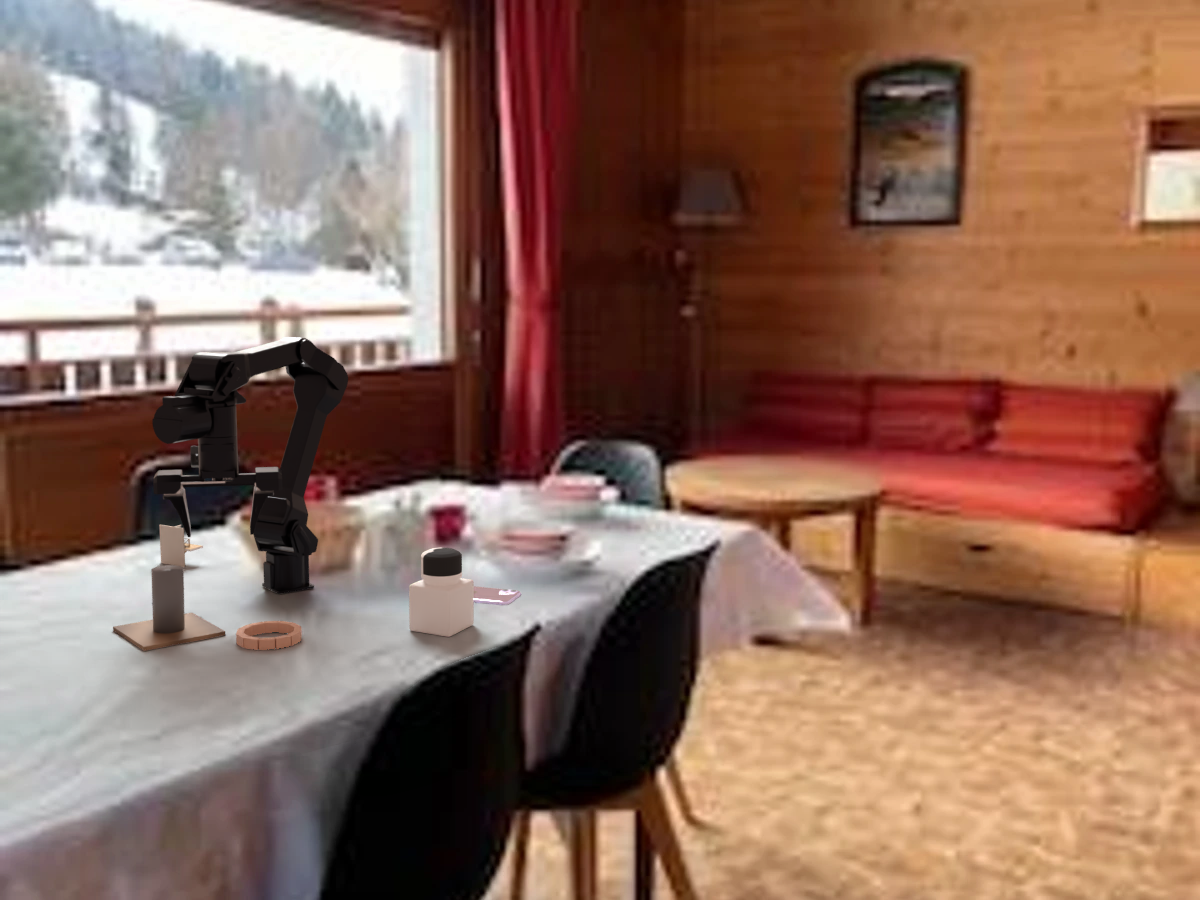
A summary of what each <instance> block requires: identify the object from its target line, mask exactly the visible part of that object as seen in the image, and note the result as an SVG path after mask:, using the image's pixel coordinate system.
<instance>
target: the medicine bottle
mask: <svg viewBox="0 0 1200 900" xmlns="http://www.w3.org/2000/svg"><path fill="white" fill-rule="evenodd" d="M462 576H463V554H462V553H461V552H460V551H459V550H457V549H456V548H455V549H454V548H451V547H433V548H429V549H427V550H425V551H423V552H422V553H421V554H420V577H421V580H418V581H415V582H414V583H411V584H410V585H409V587H408V593H409V594H408V595H409V596H408V601H409V602H408V604H409V605H408V607H409V609H408V610H409V612H408V613H409V617H408V618H409V619H408V621H409V624H408V625H409V626H408V627H409V631H410V632H417V633H421V634H422V633H424V634H428V635H435V636H440V637H447V638H450V637H452V636H454V635H456V634H458V633H460V632H462V631H464V630H466V629H468V628H470V627H472V626H473V625H474V614H475V613H474V612H475V611H474V603H475V602H474V586H475V585H474V580H473V579H471V578H470V579H469V578H462Z"/></svg>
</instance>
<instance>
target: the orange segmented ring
mask: <svg viewBox="0 0 1200 900" xmlns="http://www.w3.org/2000/svg"><path fill="white" fill-rule="evenodd" d="M302 629H303V627H302V626H301V625H299V624H298V623H295V622H290V621H283V620H269V621H268V620H266V621H259V622H258V621H257V622H253V623H249V624H245V625H243V626H241V627H239V628H237V630H236V633H235V635H236V636H235V637H236V638H235V639H236V645H238V646H239V647H241V648H243V649H247V650H253V649H254V651H270V650H269V649H274V650H279V648H281V649H285V648H284V647H286V648H290V647H289V646H291V647H293V646H295V645H297V644H299V643H300V641H302V636H303V634H302V632H303V631H302ZM272 632H279V633H278V634H283V635H279V636H274V637H259V636H258V635H262V633H263V634H273V633H272ZM284 633H288V634H284ZM257 634H258V635H257ZM257 636H258V637H257ZM298 642H299V643H298ZM294 644H295V645H294ZM275 648H276V649H275ZM258 649H259V650H258ZM267 649H268V650H267Z"/></svg>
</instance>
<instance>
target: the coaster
mask: <svg viewBox="0 0 1200 900" xmlns="http://www.w3.org/2000/svg"><path fill="white" fill-rule="evenodd" d="M184 615H185V629H184V630H182V631H180V632H176V633H157V632H154V631H153V619H148V620H147V619H146V620H144V621H143V620H142V621H137V622H131V623H126V624H119V625H114V626H113V627H112V631H113V632H115V634H118V635H119V636H120V637H122V638H124V639H125V640H127V641H128V642H130V643H131V644H133V645H134V646H135V647H137V648H139V649H140V650H141V651H143V652H145V651H150V650H156V649H157V650H158V649H162V648H166V647H172V646H177V645H182V644H183V645H184V644H188V643H193V642H197V641H204V640H208V639H213V638H218V637H223V636H226V631H225V630H224V629H222V628H221V627H219V626H217V625H215V624H213V623H212V622H210V621H208V620H206V619H204V618H203V617H201V616H199V615H197V614H196V613H194V612H187V613H184Z"/></svg>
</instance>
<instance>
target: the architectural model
mask: <svg viewBox="0 0 1200 900" xmlns="http://www.w3.org/2000/svg"><path fill="white" fill-rule="evenodd" d="M185 533H186V531H185V529H184V527H182V524H179V525H175V526H170V525H165V524H159V544H160V545H159V546H160V551H159V552H160V563H161V564H166V565H175V566H181V567H183V568H185V567H186V553H187V552H194V551H197V550H200V549H203V548H204V545H199V544H194V543H193V544H192V543H191V538H189V537H185Z"/></svg>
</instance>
